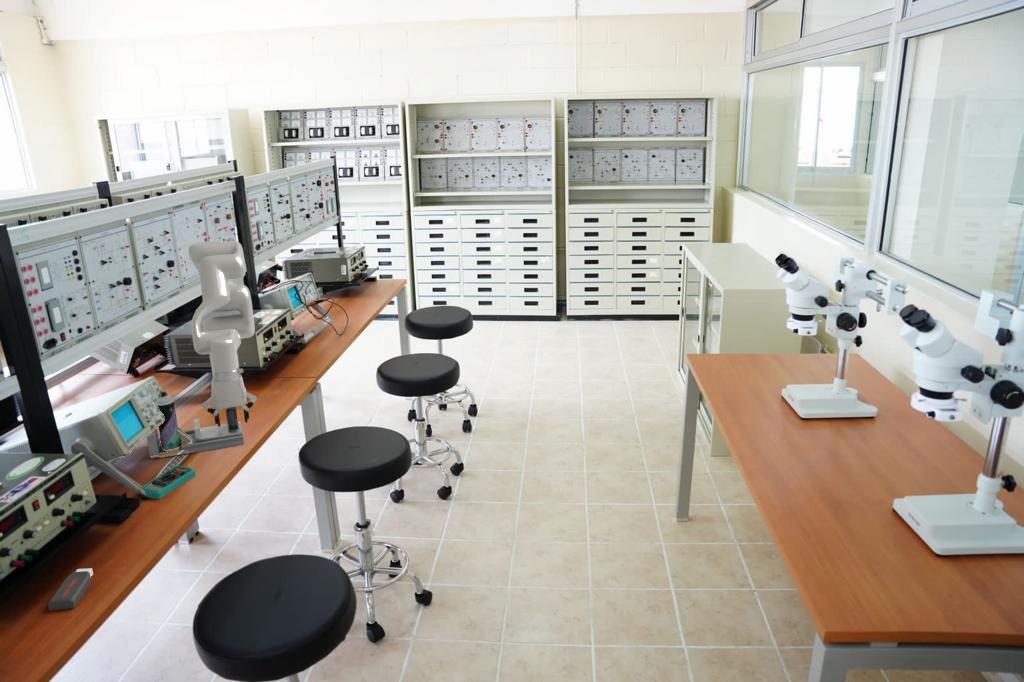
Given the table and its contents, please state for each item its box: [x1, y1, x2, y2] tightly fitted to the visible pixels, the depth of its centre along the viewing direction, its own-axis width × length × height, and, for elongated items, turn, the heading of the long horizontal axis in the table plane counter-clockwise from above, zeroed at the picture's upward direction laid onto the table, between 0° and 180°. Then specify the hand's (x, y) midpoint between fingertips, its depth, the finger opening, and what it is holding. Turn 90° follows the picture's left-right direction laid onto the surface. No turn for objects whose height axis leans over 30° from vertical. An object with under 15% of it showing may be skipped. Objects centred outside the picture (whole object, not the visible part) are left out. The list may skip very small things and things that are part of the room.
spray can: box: [156, 390, 181, 450], centre depth 218 cm, size 6×6×20 cm
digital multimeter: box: [140, 465, 196, 500], centre depth 200 cm, size 7×15×3 cm, turn 161°
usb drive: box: [48, 567, 94, 611], centre depth 156 cm, size 5×12×3 cm, turn 8°
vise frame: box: [146, 427, 245, 458], centre depth 223 cm, size 12×28×8 cm, turn 115°
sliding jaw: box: [193, 407, 244, 443], centre depth 225 cm, size 8×14×9 cm, turn 115°
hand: (232, 422), depth 227 cm, fingers open, 7 cm apart
